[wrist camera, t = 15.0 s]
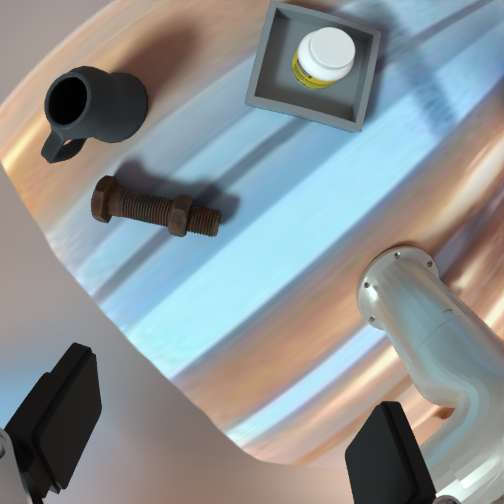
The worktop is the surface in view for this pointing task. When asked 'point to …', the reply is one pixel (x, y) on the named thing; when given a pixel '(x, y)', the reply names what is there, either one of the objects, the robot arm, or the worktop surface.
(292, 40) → the tray
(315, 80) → the supplement bottle
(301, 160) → the worktop surface
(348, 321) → the worktop surface
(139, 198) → the bolt
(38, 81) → the worktop surface
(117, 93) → the mug
